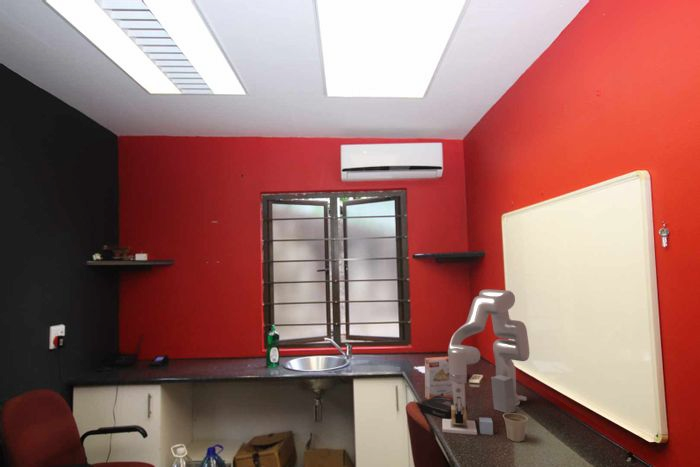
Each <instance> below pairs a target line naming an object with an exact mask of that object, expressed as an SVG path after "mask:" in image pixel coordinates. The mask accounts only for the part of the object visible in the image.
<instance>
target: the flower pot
mask: <svg viewBox="0 0 700 467" xmlns="http://www.w3.org/2000/svg"><path fill="white" fill-rule="evenodd" d="M502 417H503V421H504V423H505V429H506V437H507V439H508V440H510V441H512V442H518V443H520V442H524V440H525V433H526V426H527V422H528V417H527V416H526V415H523V414H521V413H515V412H511V413H503V415H502Z"/></svg>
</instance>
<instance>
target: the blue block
mask: <svg viewBox="0 0 700 467" xmlns="http://www.w3.org/2000/svg"><path fill="white" fill-rule="evenodd" d="M478 427H479V428H478V429H479V433H480V434H481V435H492V436H493V435H494V422H493V420H492V417H482V416H481V417H478Z"/></svg>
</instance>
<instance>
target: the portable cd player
mask: <svg viewBox="0 0 700 467" xmlns="http://www.w3.org/2000/svg"><path fill="white" fill-rule="evenodd" d="M465 404H466V406H465V407H466V411H467V410H468V408H467V403H466V402H465ZM418 405H419V407H420V409H421V411H422V412H421V413H424V414H427V415H430V416H433V417H435V418H436V417H437V418H438V419H441V420H442V419H452V413H451V405H454V402H453V399H448V398H444V397H440V396H435V397H432V398H430V399H427V398H426V399H425V400H422V401H420V402H418V403H417V406H418Z"/></svg>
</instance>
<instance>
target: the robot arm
mask: <svg viewBox="0 0 700 467" xmlns="http://www.w3.org/2000/svg"><path fill="white" fill-rule="evenodd" d="M515 302H516V297H515V294H514V293H513V292H512V291H511V290H507V289H506V290H505V289H504V290H501V289H482V290H480V291H479V293H478V295H477V296H475V297H474V298H473V299H472V302H471V306H470V308H469V313H468V316H467V319H466V322H465V323H464V324H462V326H460V327H459V328H458V329H457V330H456V331H455V332H454V333H453V334H452V336H451V337H450V338H451V339H450V340H449V341H450V342H449V344H448V348H447V356H449V381H450V382H452V394H453V399H452V400H453V402H454V406H455V407H456V413H455V423H461V424H463V414H462V406H464V407H465V406H466V407H467V403H466V388H465V387H466V386H465V384H466V383H468V378H467V377H468V376H467V375H468V373H467V372H468V370H467V369H468V366H467V367H466V365H467V364H469V365H475V364H477V363H478V362H479V361H480V359H481V352H480V350H479V349H478V348H477V347H475V346H470V345H465V344H462V342H463V341H464V340H465V339H466V338H468V337H471V336H473V335H476V334H478V333H481V332H483V331H484V330H485V327H486V325H487V324H486V323H487V322H488V318H489V315H490V317H491V323H492V327H493V328H492V330H493V333H494V335H495V337H497V338H499V339H496V340H495V341H494V342H493V343H492V351H493V356H494V362H495V363H494V364H495V376H498V375H502V376H506V377H510V378H513V386H514V397H515V407H517V406H519V405H520V403H521V401H527V400H528V399H527V396H523V394H522V395H521V394H520V395H518V393H517V380H516V379H517V378H516V367H515V366H516V365H515V363H514V362H513V361H518V362H526V361H528V360H529V358H530V344H529V338H528V337H529V336H528V330H527V326H526V325H525V323H524V322H523V321H521V320H516V319H511V318H510V315H509V310H510V309H511V308H513V307H514V305H515ZM465 403H466V404H465ZM456 405H458V406H456ZM457 408H458V409H457Z"/></svg>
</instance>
